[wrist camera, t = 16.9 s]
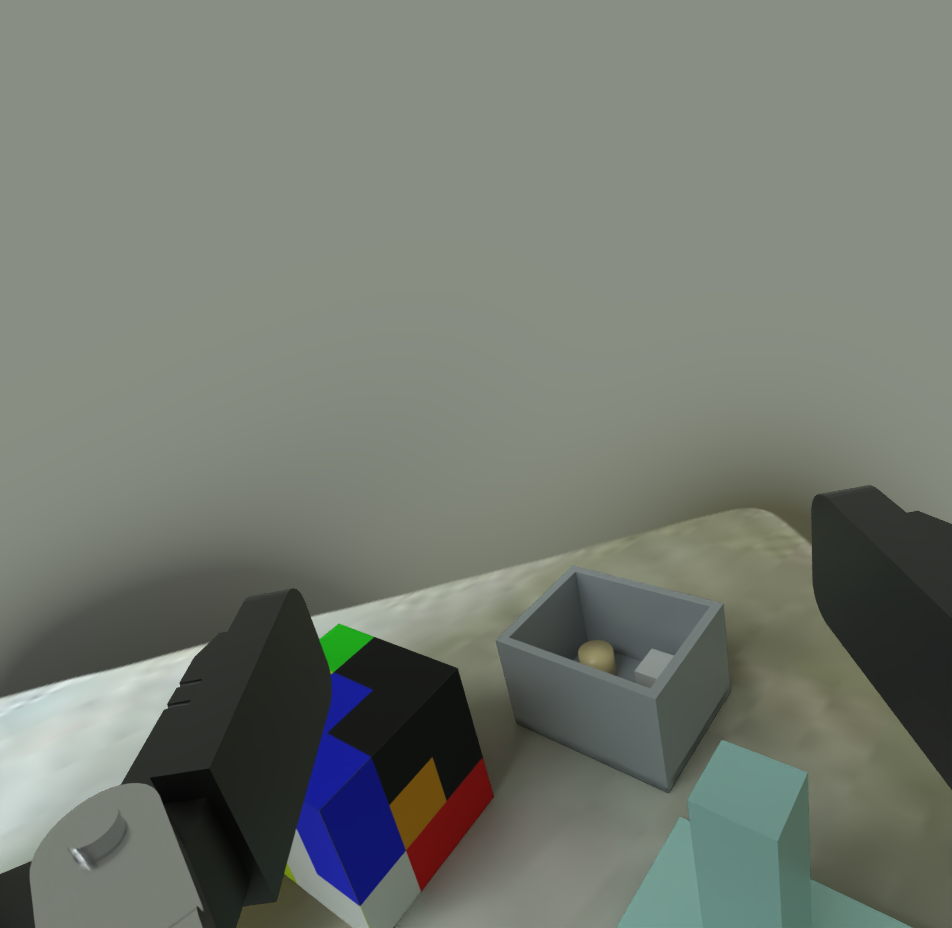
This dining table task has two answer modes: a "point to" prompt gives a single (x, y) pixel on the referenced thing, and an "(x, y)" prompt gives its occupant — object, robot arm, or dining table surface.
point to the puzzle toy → (386, 781)
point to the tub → (619, 671)
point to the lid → (744, 857)
